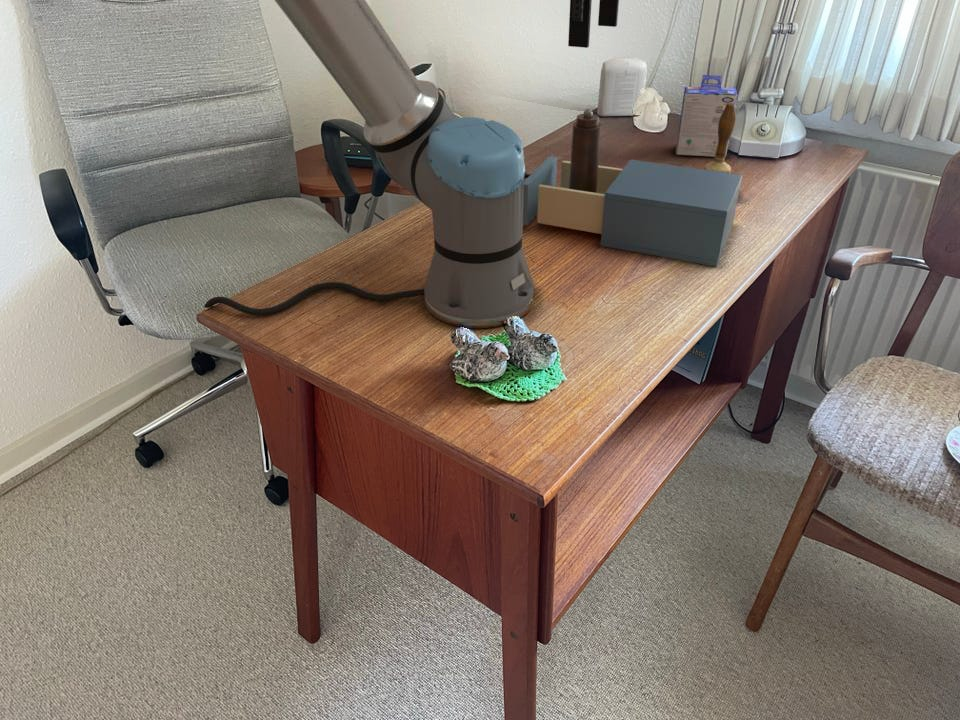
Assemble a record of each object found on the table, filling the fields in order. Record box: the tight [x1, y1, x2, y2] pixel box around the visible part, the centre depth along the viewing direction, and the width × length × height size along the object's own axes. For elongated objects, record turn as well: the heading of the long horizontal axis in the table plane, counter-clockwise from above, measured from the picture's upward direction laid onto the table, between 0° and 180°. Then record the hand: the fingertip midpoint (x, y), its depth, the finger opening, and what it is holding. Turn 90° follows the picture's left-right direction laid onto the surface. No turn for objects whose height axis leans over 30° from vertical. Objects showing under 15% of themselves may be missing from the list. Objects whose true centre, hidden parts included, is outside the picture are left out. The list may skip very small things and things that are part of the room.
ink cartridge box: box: [675, 74, 738, 158], centre depth 142 cm, size 10×6×14 cm, turn 78°
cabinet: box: [599, 159, 743, 267], centre depth 113 cm, size 18×15×9 cm
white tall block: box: [596, 56, 647, 117], centre depth 163 cm, size 10×4×12 cm, turn 93°
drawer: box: [523, 155, 624, 235], centre depth 119 cm, size 21×14×7 cm, turn 66°
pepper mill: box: [569, 108, 603, 193], centre depth 115 cm, size 4×4×16 cm
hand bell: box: [703, 103, 737, 173], centre depth 124 cm, size 8×8×16 cm
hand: (593, 35), depth 104 cm, fingers open, 13 cm apart
